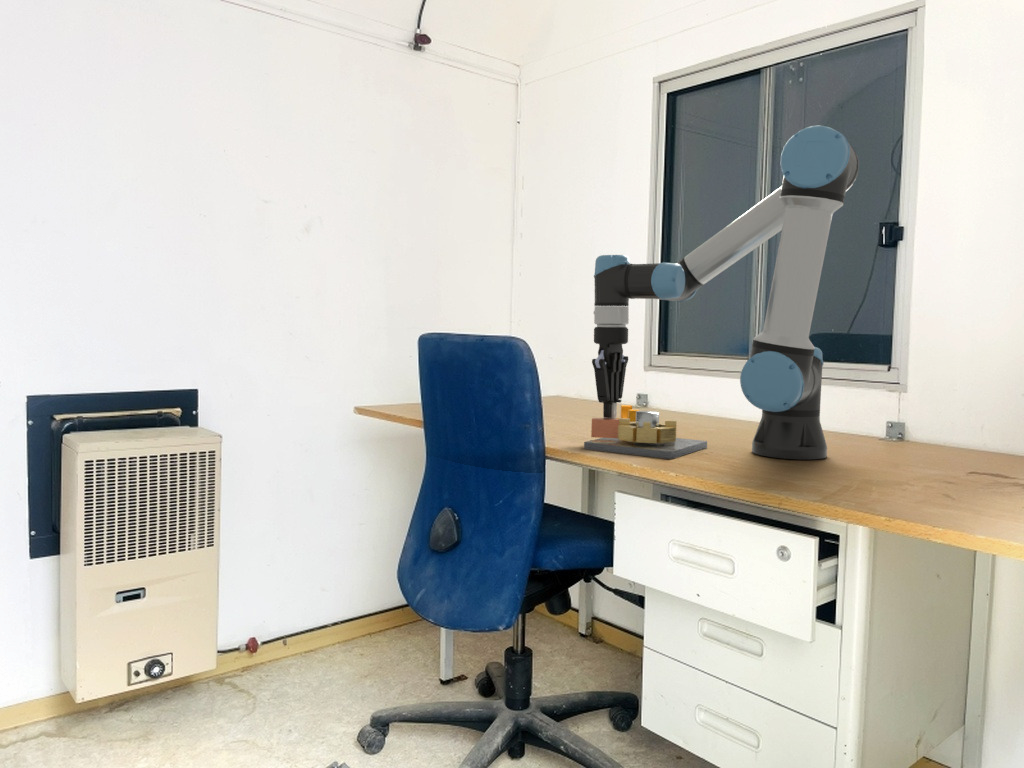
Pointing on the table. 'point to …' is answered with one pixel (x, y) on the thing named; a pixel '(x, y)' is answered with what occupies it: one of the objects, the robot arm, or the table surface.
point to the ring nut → (633, 430)
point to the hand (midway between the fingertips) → (609, 431)
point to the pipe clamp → (628, 413)
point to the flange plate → (647, 449)
